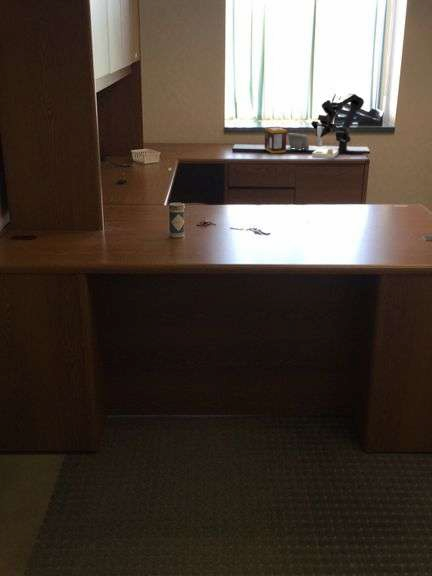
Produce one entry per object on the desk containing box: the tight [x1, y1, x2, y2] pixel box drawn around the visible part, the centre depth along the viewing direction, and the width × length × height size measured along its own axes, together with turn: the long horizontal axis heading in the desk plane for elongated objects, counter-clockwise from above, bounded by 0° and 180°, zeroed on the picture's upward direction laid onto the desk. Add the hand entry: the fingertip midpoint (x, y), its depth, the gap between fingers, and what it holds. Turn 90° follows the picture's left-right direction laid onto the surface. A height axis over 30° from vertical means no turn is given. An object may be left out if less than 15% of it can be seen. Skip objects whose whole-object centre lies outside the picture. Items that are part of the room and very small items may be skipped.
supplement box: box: [264, 126, 288, 154], centre depth 442 cm, size 10×15×16 cm
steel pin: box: [315, 126, 324, 147], centre depth 424 cm, size 4×4×13 cm
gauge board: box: [311, 148, 339, 159], centre depth 431 cm, size 16×14×5 cm
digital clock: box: [287, 132, 310, 150], centre depth 450 cm, size 16×9×11 cm, turn 38°
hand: (318, 136), depth 423 cm, fingers closed on steel pin, 4 cm apart
